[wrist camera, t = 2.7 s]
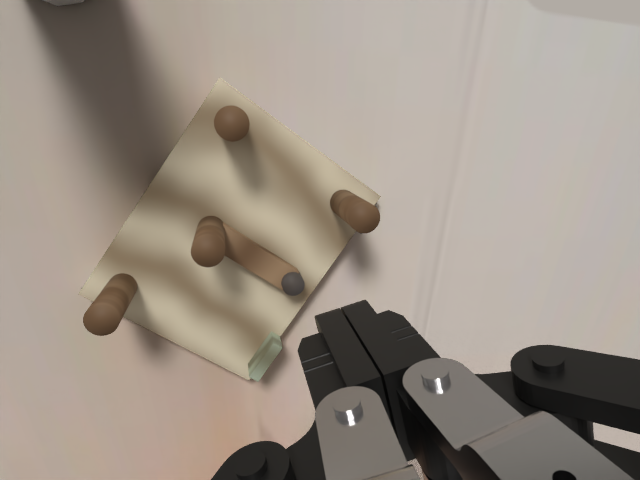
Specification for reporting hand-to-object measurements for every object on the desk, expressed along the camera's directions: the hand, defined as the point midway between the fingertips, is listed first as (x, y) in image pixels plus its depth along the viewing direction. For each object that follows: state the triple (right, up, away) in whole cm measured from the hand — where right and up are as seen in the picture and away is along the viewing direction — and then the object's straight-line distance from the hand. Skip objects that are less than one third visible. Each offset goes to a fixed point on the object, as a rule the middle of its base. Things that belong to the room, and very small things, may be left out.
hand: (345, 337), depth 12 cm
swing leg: (-7, +2, +27) cm, 28 cm away
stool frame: (-9, +3, +29) cm, 30 cm away
